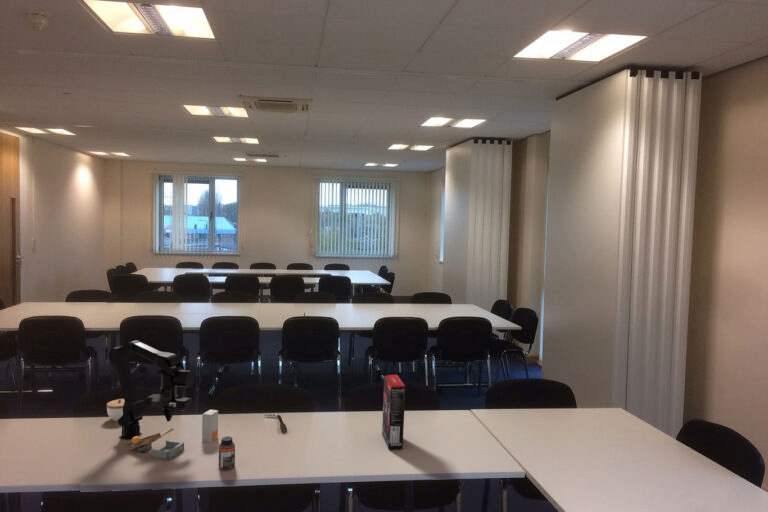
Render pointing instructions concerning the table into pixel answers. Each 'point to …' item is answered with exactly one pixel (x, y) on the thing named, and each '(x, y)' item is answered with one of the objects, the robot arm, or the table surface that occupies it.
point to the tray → (168, 450)
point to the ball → (135, 439)
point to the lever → (148, 439)
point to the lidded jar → (115, 409)
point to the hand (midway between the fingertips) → (168, 421)
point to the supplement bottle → (226, 453)
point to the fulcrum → (144, 448)
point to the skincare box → (210, 425)
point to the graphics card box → (393, 411)
